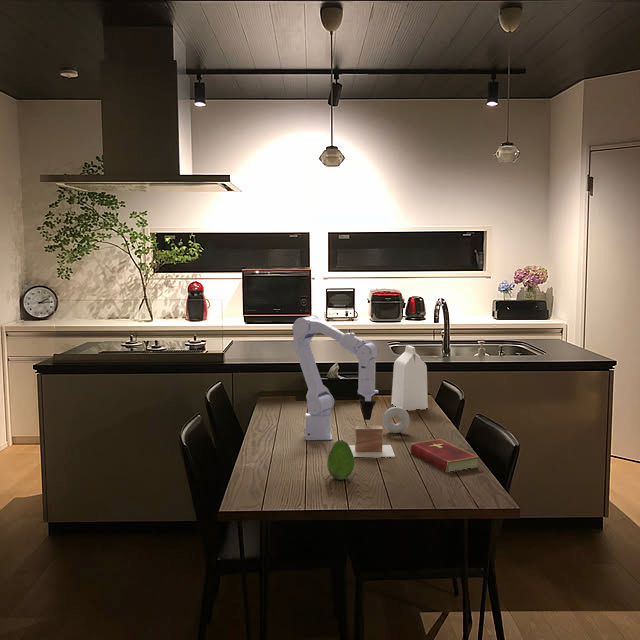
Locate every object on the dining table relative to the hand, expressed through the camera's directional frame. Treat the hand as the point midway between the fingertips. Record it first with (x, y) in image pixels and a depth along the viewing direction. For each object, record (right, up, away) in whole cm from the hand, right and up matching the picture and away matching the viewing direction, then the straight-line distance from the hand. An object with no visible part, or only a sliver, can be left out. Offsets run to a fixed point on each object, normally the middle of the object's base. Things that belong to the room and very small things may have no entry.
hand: (366, 416), depth 233 cm
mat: (+1, -11, -6) cm, 13 cm away
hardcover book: (+24, -13, -14) cm, 31 cm away
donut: (+12, -9, +16) cm, 22 cm away
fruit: (-10, -14, -31) cm, 35 cm away
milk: (+22, -4, +55) cm, 60 cm away
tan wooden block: (0, -11, -6) cm, 12 cm away
